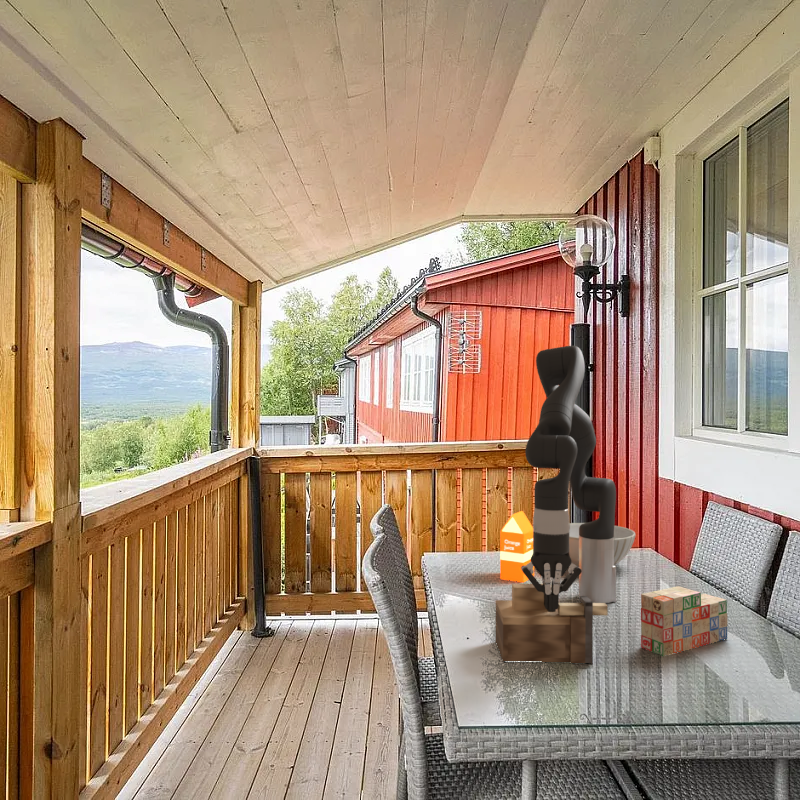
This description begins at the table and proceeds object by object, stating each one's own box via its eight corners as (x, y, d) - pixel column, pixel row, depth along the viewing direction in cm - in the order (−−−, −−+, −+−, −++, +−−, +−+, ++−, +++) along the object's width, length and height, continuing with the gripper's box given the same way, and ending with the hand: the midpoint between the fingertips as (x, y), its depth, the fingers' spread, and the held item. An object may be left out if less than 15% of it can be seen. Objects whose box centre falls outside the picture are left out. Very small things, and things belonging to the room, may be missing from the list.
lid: (557, 611, 157) (557, 578, 157) (570, 629, 145) (570, 593, 145) (495, 611, 157) (495, 578, 157) (503, 629, 145) (503, 593, 145)
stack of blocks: (704, 632, 164) (704, 580, 164) (728, 640, 158) (728, 586, 158) (640, 648, 154) (640, 592, 153) (663, 657, 148) (663, 600, 148)
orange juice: (534, 576, 213) (534, 511, 213) (523, 582, 206) (523, 515, 206) (511, 572, 218) (511, 509, 217) (499, 579, 210) (499, 513, 210)
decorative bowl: (647, 579, 210) (647, 539, 210) (559, 578, 210) (559, 539, 210) (620, 558, 237) (620, 522, 237) (542, 557, 237) (542, 522, 237)
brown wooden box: (577, 642, 157) (577, 585, 157) (592, 664, 144) (592, 602, 144) (495, 642, 157) (495, 585, 157) (503, 664, 144) (503, 602, 144)
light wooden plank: (604, 612, 147) (604, 602, 147) (607, 615, 145) (607, 605, 145) (557, 612, 147) (557, 602, 147) (559, 615, 145) (559, 605, 145)
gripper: (578, 525, 150) (577, 605, 150) (517, 525, 150) (516, 605, 150) (587, 533, 142) (586, 616, 143) (522, 532, 143) (522, 616, 143)
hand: (550, 610), depth 146 cm, fingers closed
